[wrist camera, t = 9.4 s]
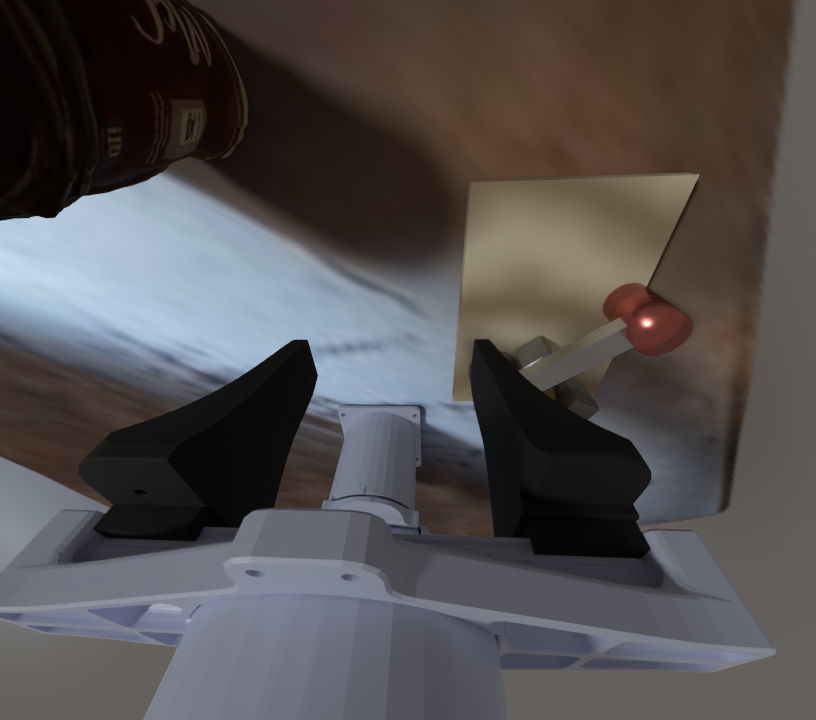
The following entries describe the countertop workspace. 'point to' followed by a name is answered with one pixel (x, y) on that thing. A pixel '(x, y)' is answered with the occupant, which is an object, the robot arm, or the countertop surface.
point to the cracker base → (558, 263)
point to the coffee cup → (108, 97)
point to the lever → (610, 337)
